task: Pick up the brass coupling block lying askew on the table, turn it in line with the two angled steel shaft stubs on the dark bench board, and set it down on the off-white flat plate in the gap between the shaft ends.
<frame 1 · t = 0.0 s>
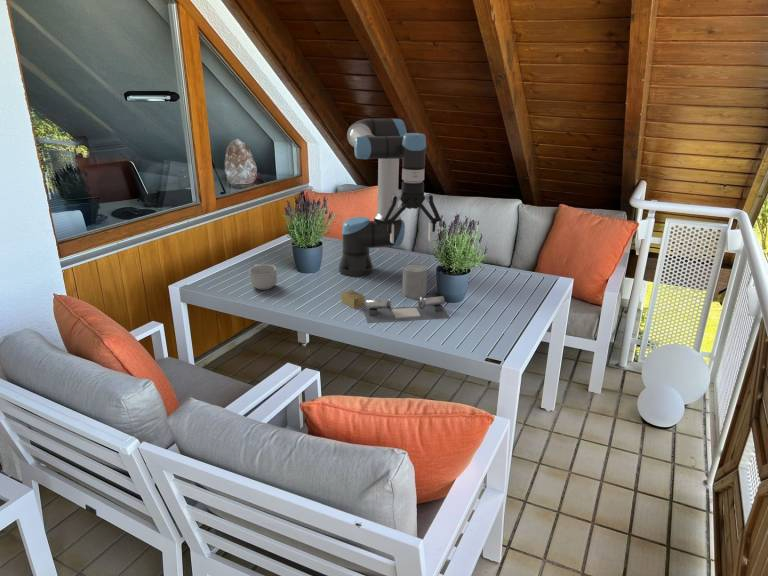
hand: (411, 241, 202), 28 cm above the table, fingers open, 13 cm apart
shaft a: (378, 313, 210), resting on bench board
coupler: (353, 306, 218), on the table
bench board: (406, 316, 210), on the table
teacup: (263, 286, 237), on the table
speckled tin can: (414, 297, 228), on the table
shaft b: (431, 310, 213), resting on bench board
off-white flat plate: (406, 313, 210), resting on bench board
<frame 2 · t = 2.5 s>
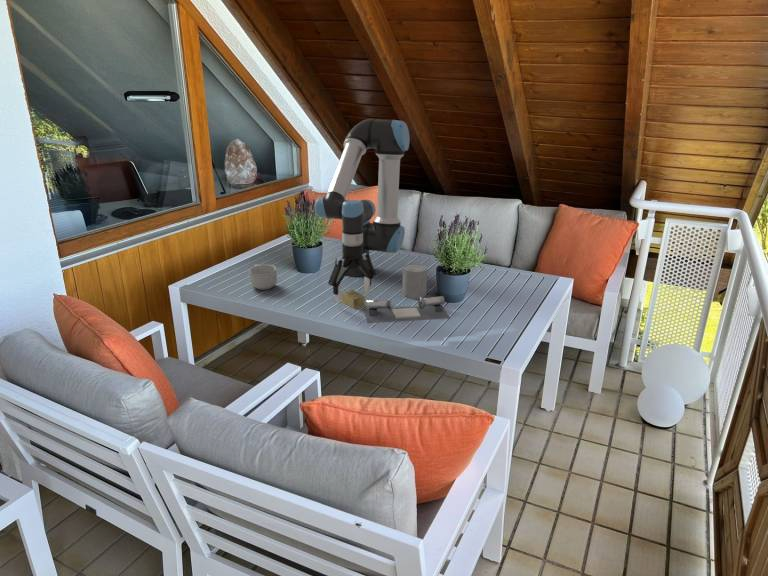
hand: (352, 298, 217), 4 cm above the table, fingers open, 13 cm apart
nothing on the table moved.
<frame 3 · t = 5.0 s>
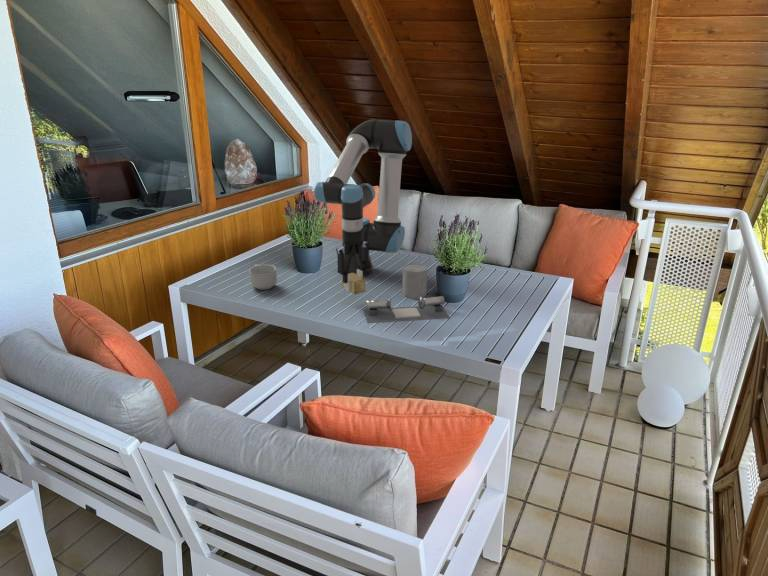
hand: (353, 288, 216), 7 cm above the table, fingers closed on coupler, 5 cm apart
coupler: (353, 289, 216), point 7 cm above the table, touching gripper
everything else where it was.
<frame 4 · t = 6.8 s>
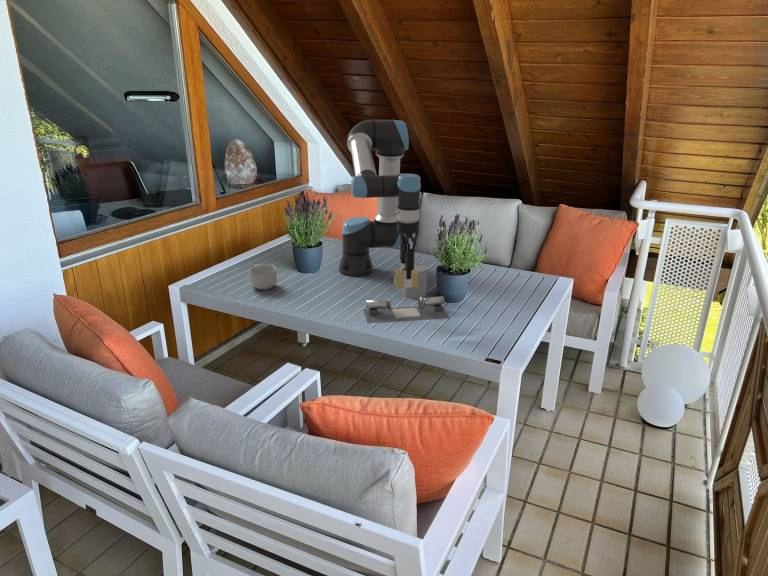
hand: (406, 283, 205), 13 cm above the table, fingers closed on coupler, 5 cm apart
coupler: (405, 284, 206), point 12 cm above the table, touching gripper
everything else where it was.
when the fingers open (2 cm above the table, at t = 8.9 s): coupler stays where it is, resting on off-white flat plate.
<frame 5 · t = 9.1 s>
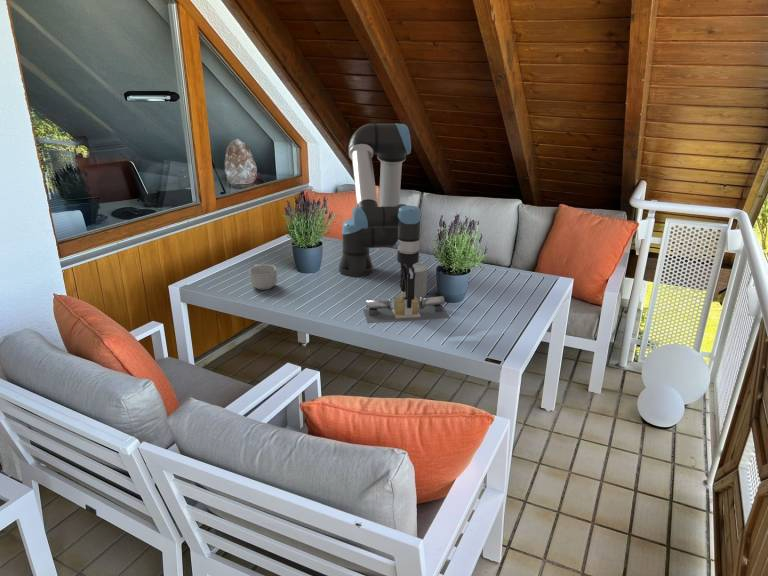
hand: (406, 311, 209), 2 cm above the table, fingers open, 6 cm apart
coupler: (405, 312, 210), point 2 cm above the table, touching gripper, off-white flat plate
everything else where it was.
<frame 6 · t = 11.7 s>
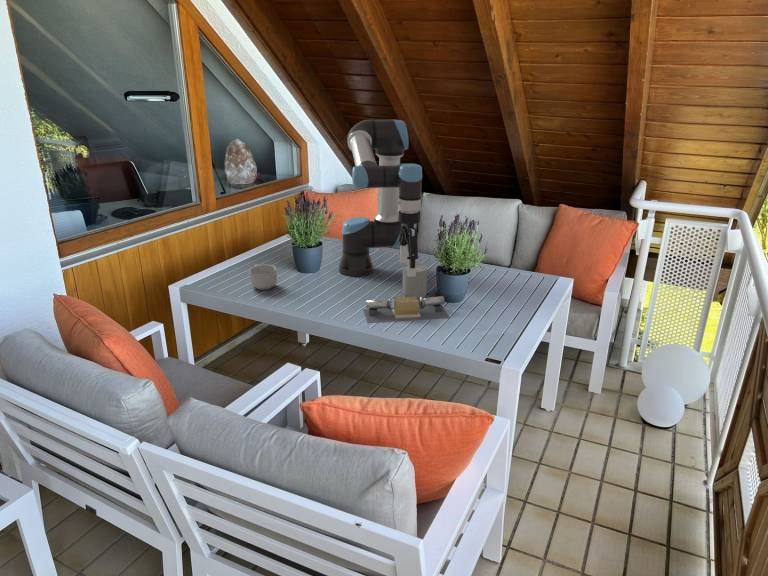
hand: (407, 269, 204), 18 cm above the table, fingers open, 13 cm apart
coupler: (405, 312, 210), point 2 cm above the table, touching off-white flat plate
everything else where it was.
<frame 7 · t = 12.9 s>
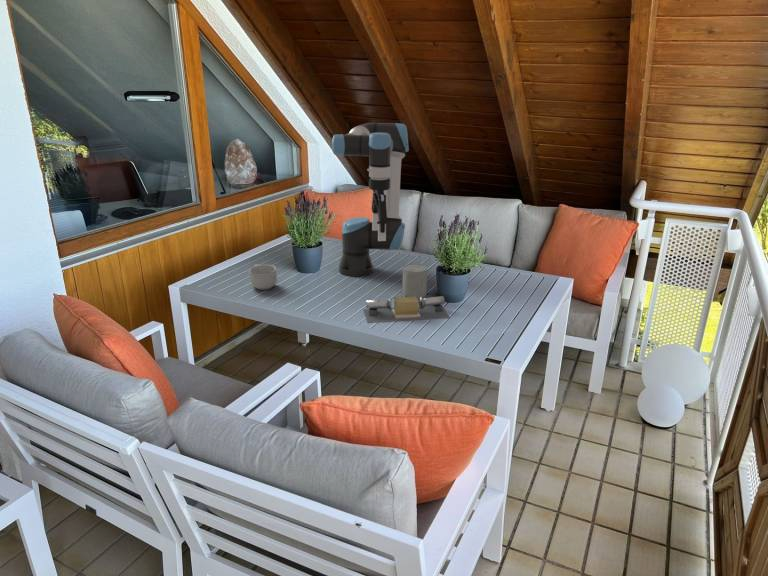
hand: (378, 235, 213), 27 cm above the table, fingers open, 13 cm apart
nothing on the table moved.
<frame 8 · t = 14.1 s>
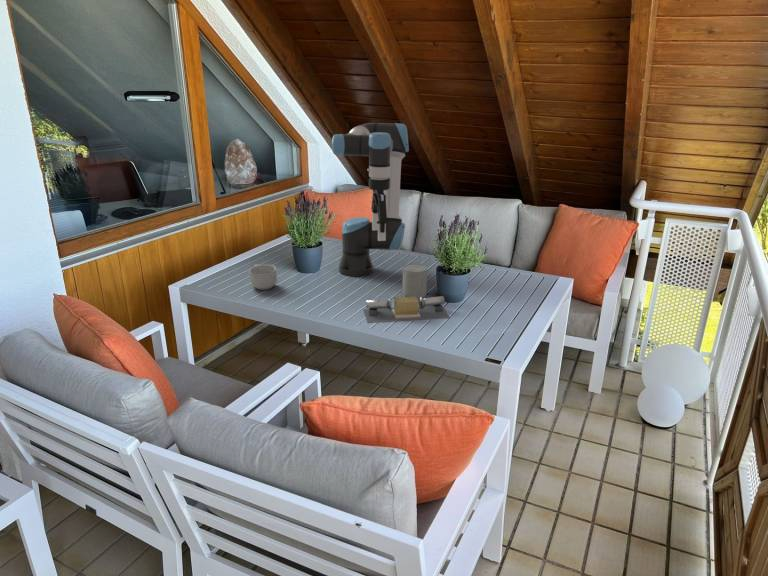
hand: (378, 235, 213), 27 cm above the table, fingers open, 13 cm apart
nothing on the table moved.
at the end: coupler 0.2 cm off-centre on the off-white flat plate, point 0.6 cm above the off-white flat plate's base; coupler tilted 0°; the gripper is holding nothing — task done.
